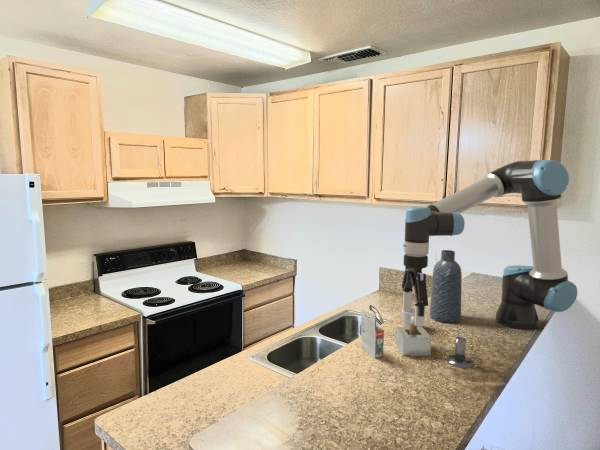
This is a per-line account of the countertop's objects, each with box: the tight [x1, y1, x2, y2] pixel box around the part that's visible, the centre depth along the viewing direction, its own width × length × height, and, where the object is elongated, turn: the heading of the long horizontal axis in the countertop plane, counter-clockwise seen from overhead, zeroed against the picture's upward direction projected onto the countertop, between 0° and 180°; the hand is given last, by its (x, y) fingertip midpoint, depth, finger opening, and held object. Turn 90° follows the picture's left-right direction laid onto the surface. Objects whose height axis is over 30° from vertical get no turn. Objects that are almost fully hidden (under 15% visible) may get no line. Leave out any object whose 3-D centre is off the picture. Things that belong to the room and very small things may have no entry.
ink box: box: [360, 309, 385, 359], centre depth 124 cm, size 4×8×15 cm, turn 26°
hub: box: [446, 336, 474, 369], centre depth 118 cm, size 8×8×8 cm
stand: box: [409, 323, 417, 335], centre depth 127 cm, size 8×8×10 cm
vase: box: [429, 249, 463, 324], centre depth 157 cm, size 12×12×28 cm
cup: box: [401, 306, 422, 327], centre depth 144 cm, size 11×8×8 cm
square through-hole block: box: [395, 326, 432, 357], centre depth 127 cm, size 9×9×6 cm
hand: (412, 317), depth 126 cm, fingers open, 13 cm apart
